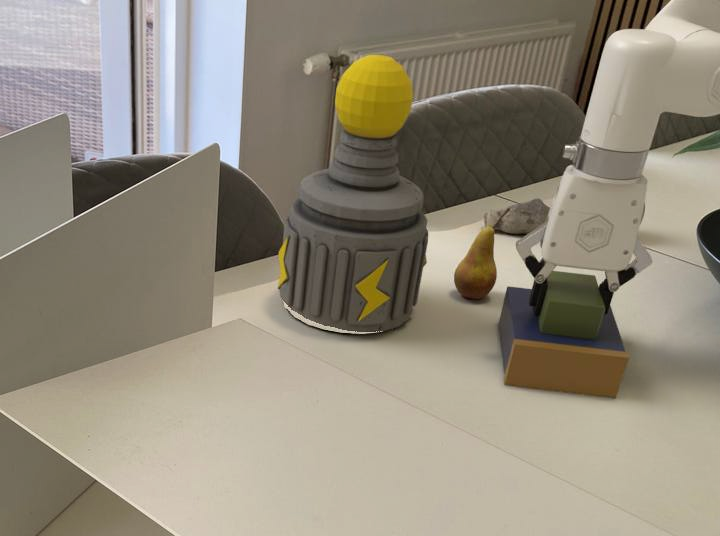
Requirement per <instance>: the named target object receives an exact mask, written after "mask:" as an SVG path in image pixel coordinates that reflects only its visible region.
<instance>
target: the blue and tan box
mask: <svg viewBox="0 0 720 536" xmlns="http://www.w3.org/2000/svg"><path fill="white" fill-rule="evenodd" d="M531 291H532V288H525V287H517V286H509V285H508V286H506V290H505V293H504V298H503V302H502V306H501V311H500V315H499V320H498V330H499V337H500V339H499V340H500V347H501V354H502V355H501V357H502V365H503V373H504V377H503V383H504V386H509V387H510V386H511V387H517V388H526V389H534V390H535V389H536V390H542V389H543V390H544V391H551V390H553V392H559V391H562V392H561V393H567V392H571V393H570V394H575V393H578V394H577V395H583V394H584V395H585V396H593V397H602V398H610V399H616V398H617V395H618V393H619V390H620V386H621V384H622V380H623V378H624V374H625V372H626V370H627V369H626V368H627V366H628V363H629V359H630V356H629V354H628V352H627V351H626V348H625V346H624V342H623V339H622V337H621V333H620V330H619V327H618V324H617V321H616V318H615V315H614V312H613V309H612V306H611V305H610V307H609V310H608V313H607V314H606V315H605V314H603V317H602V321H601V324H600V327H599V330H598V333H597V336H596V339H595V340H593V339H585V338H577V337H568V336H560V335H551V334H543V333H541V332H540V327H539V321H538V316H534V314H533V308H532V306H529V299H530V295H531ZM543 390H542V391H543Z"/></svg>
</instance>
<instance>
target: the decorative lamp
mask: <svg viewBox="0 0 720 536" xmlns="http://www.w3.org/2000/svg"><path fill="white" fill-rule="evenodd" d="M413 100H414V92H413V86H412V80H411V78H410V77H409V75H408V73H407V71H406V70H405V68H404V67H403V65H402V64H400V63H399V62H397V61H396V60H395V59H394V58H393V57H391V56H388V55H383V54H367V55H365V56H363V57H361V58H360V59H357V60H355V61H353V63H352V64H351V65H350V66H349V67H348V68H347V69H346V70H345V71H344V72H343V74H342V75H341V77H340V79H339V82H338V83H337V86H336V89H335V99H334V106H335V110H336V111H335V112H336V115H337V119H338V121H339V123H340V124H341V126H342V127H343V129H342V131H341V133H340V136H339V140H340V143H338V145H337V146H336V148H335V150H334V152H333V157H334V160H332V161H331V162H330V165H329V167H328V168H324V169H321V170H318V171H316V172H313V173H310V174H308V175H306V176H304V177H303V178H302V180H301V182H300V183H299V187H298V192H297V193H298V196H299V197H298V198H296V199H294V201H293V202H292V204H291V205H290V206H289V213H288V215H287V217H286V219H285V221H284V225H283V227H284V228H283V237H282V246H281V247H280V249H279V251H278V259H279V270H280V272H279V279H278V283H277V284H278V285H277V290H278V291H279V297H280V298H281V300H283V301H284V302H285V303H286V304H287V305H288V307H290V308H291V310H293V311H295V312H297V313H298V314H300V315H302V316H303V317H304V318H306V319H309V320H311V321H314V322H316V323H319V324H322V325H324V326H330V327H335V328H338V329H342V330H347V331H355V332H356V331H357V332H376V331H377V332H378V331H379V332H380V331H386V330H389V329H392V330H394V329H393V328H395V329H397V328H399V327H400V326H402V325H404V324H405V323H406V322H407V321H408V320H409V319H410V316H411V314H412V309H413V307H416V306H417V303H418V299H419V294H420V287H421V282H422V277H423V271H424V267H425V266H426V265H427V263H428V260H427V249H428V245H429V230H428V228H427V225H428V221H429V220H428V218H427V216H426V215H425V213H424V212H423V210H422V209H423V206H424V199H425V194H424V193H423V191H422V189H421V188H420V187H419V186H417V185H416V184H415V183H413V182H412V181H411V180H408V179H407V178H405V177H404V176H401V175H400V170H399V167H398V166H397V164H398V163H399V153H398V151H397V149H396V147H397V144H398V141H397V140H398V139H397V135H396V133H397V132H399V131H400V130H401V129H402V127H403V126H404V125H405V123H406V121H407V119H408V117H409V115H410V113H411V111H412V105H413ZM283 301H282V302H283ZM396 327H397V328H396ZM389 331H390V330H389ZM386 332H387V331H386Z"/></svg>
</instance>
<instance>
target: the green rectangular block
mask: <svg viewBox="0 0 720 536" xmlns="http://www.w3.org/2000/svg"><path fill="white" fill-rule="evenodd" d="M547 283H548V288H547V291H546V295H545V298H544V302H543V306H542V309H541V313H540V315H539V316H538V321H539V327H540V332H541V333H543V334H551V335H560V336H568V337H577V338H585V339H593V340H595V339H596V336H597V333H598V330H599V327H600V324H601V321H602V317H603V314H604V311H605V306H604V303H603V299H602V296H601V293H600V290H599V283H598V280H597V277H596V275H595V274H594V275H593V274H585V273H577V272H567V271H557V270H553V271H552V272H551V274H550V275H549V276H548V277H547Z"/></svg>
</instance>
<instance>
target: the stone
mask: <svg viewBox="0 0 720 536" xmlns="http://www.w3.org/2000/svg"><path fill="white" fill-rule="evenodd" d="M550 207H551V206H548V205H547V204H545V203H544V201H542V199H540V198H539V197H537V198H533V199H531V200H529V201H525V202H522V203H517V204H514V205H509V206H506V207H504V208H501V209H499V210H492V209H489V210H486V211H485V212H484V214H483V215H484V216H483V222H484V223H483V224H484V228H486V227H487V226H490V227H491V226H492V225H493V224H494V223H495V222H496V221H498V219H499V218H500V216H501V215H502V214H503V213H504V212H505V211H506V210H507V208H510V210H509V211H508V212H507V214H505V215H504V216H503V217H502V218H501V220H500V221H499V222H498V223H497V224H496V225H495V226H494V228H493V229H494V230H495V229H498V230H500V231H502V232H503V233H507V234H510V235H511V234H512V235H514V234H515V235H520V234H521V235H522V234H524V235H525V234H526V235H527V234H529V233H530V232H532V231H533V230H535V229H536V228H538V227H539V226H541V225H542V224H544V223H545V222H546V219H547V216H548V213H549V210H550Z"/></svg>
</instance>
